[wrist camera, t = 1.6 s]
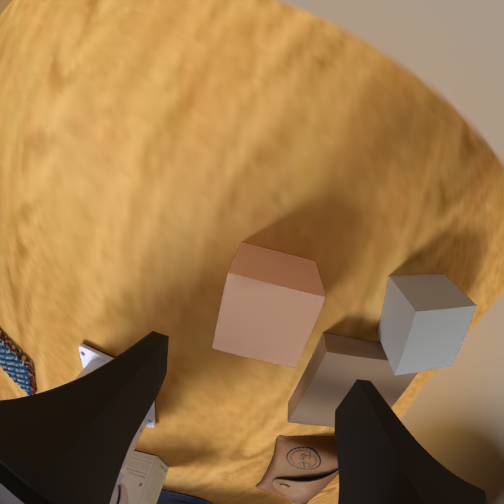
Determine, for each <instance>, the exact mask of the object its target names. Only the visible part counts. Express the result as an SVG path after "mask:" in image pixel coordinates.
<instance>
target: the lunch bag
mask: <svg viewBox="0 0 504 504" xmlns="http://www.w3.org/2000/svg"><path fill="white" fill-rule="evenodd" d="M156 504H211V503H209V502H207V501H204V500H202V499H199V498H195V497H191V496H186V495H183V494H178V493H173V492H168V491H163V490H161V492H160V495H159V497H158V500H157V503H156Z"/></svg>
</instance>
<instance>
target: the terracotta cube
mask: <svg viewBox="0 0 504 504" xmlns="http://www.w3.org/2000/svg"><path fill="white" fill-rule="evenodd" d="M325 298H326V296H325V292H324V289H323V285H322V282H321V278H320V275H319V271H318V268H317V265H316V261H313V260H309V259H305V258H301V257H298V256H294V255H290V254H286V253H282V252H279V251H275V250H271V249H267V248H263V247H259V246H255V245H252V244H248V243H244V242H241V245H240V247H239V249H238V251H237V253H236V255H235V258H234V260H233V262H232V264H231V267H230V269H229V271H228V274H227V278H226V283H225V288H224V292H223V297H222V301H221V306H220V311H219V316H218V320H217V325H216V330H215V335H214V339H213V344H212V349H216V350H220V351H223V352H227V353H231V354H235V355H239V356H243V357H247V358H251V359H255V360H260V361H264V362H269V363H273V364H278V365H283V366H288V367H293V368H295V367H296V365H297V363H298V361H299V359H300V356H301V354H302V352H303V350H304V348H305V345H306V343H307V341H308V339H309V336H310V334H311V332H312V330H313V327H314V325H315V323H316V320H317V318H318V315H319V313H320V311H321V308H322V306H323V303H324V301H325Z"/></svg>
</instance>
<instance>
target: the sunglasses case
mask: <svg viewBox="0 0 504 504" xmlns="http://www.w3.org/2000/svg"><path fill="white" fill-rule="evenodd" d="M338 473H339V471H338V461H337V451H336V442H335V436H284V435H279V436H278V437H277V439H276V445H275V450H274V455H273V458H272V460H271V462H270V465H269V467H268V469H267V471H266V473H265V475H264V476H263V478H262V480H261V481H260V482H259V483H258V484H257V485H256V487H257V488H259V489H261V490H264V491H267V492H269V493H272V494H274V495H277V496H280V497H283V498H286V499H288V500H291V501H293V502H295V503H297V504H306V503H307V502H308V501H309V500H311V499H312V498H313V497H315V496H316V495H317V494H318V493H319V492H321V491H322V490H323V489H324V488H325V487H326V486H327V485H328V484H329V483H330V482H331V481H332V480H333V479H334V478H335V477H336V476H337V475H338Z"/></svg>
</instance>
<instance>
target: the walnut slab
mask: <svg viewBox="0 0 504 504" xmlns="http://www.w3.org/2000/svg"><path fill="white" fill-rule="evenodd" d="M417 373H418V372H415V373H409V374H402V375H394V373H393V370H392V368H391V365H390V363H389V360H388V358H387V356H386V353H385V351H384V349H383V346H382V344H381V343H380V342H373V341H367V340H361V339H356V338H350V337H344V336H339V335H334V334H328V333H322V336H321V338H320V340H319V342H318V344H317V347H316V349H315V351H314V353H313V355H312V357H311V359H310V361H309V363H308V365H307V367H306V369H305V371H304V373H303V375H302V377H301V379H300V381H299V383H298V385H297V387H296V389H295V391H294V393H293V395H292V397H291V399H290V400H289V402H288V422H291V423H299V424H307V425H317V426H329V427H335V410H336V409H337V407H338V406H339V404H340V403H341V402H342V400H343V399H344V397H345V396H346V395H347V393H348V392H349V390H350V389H351V387H352V386H353V384H354V383H355V381H356V380H357V379H360V380H368V381H371V382H372V384H373V385H374V386H375V387H376V389H377V390H378V391H379V393H380V394H381V395H382V397H383V398H384V400H385V401H386V402H387V404H388V405H389V406H390V408H391V407H392V406H393V405H394V404H395V402H396V401H397V400H398V399H399V397H400V396H401V395H402V393H403V392H404V391H405V390H406V388H407V387H408V386H409V384H410V383H411V381H412V380H413V379H414V377H415V376H416V374H417Z"/></svg>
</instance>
